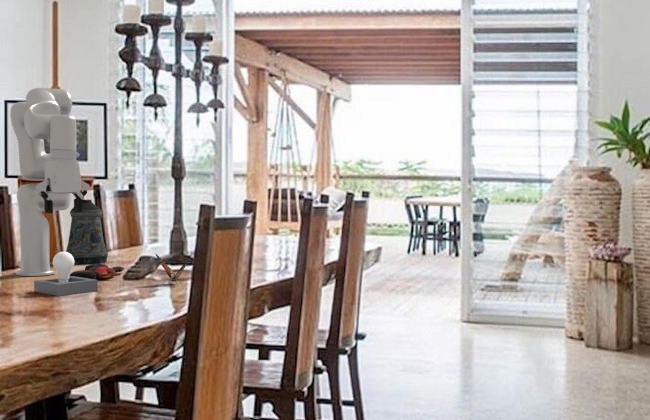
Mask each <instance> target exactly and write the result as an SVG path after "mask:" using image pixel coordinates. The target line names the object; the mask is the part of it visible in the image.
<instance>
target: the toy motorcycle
mask: <svg viewBox="0 0 650 420" xmlns="http://www.w3.org/2000/svg"><path fill="white" fill-rule="evenodd" d="M124 270H125V267H123V266H118V265H117V266H113V267H109V266H108V265H106V264H105V263H101V264H87V265H86V266H85V267H84V270H75V271H72V272H70V275H69V277H71V276H75V277H81V278H88V279H95V280H96V279H97V280H98V279H100V280H101V279H105V280H106V279H111V278H113V277H118V276H122V274H121V272H123V271H124ZM118 273H119V274H118Z"/></svg>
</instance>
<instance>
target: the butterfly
mask: <svg viewBox="0 0 650 420" xmlns="http://www.w3.org/2000/svg"><path fill="white" fill-rule="evenodd" d="M192 255H193V254H191V255H190V256H189V257H188V258H187V259H186V261H185V262H184V263H183V264H182V266H181V267H180V268H179V269H178V271H177V272H176V274H175V272H174V270H172V268H171V267H170V266H169V265H168V264H167V263H166V262H165V261H163V259H162V257H160V256H159V254H157V253H155V257H156V258H157V260H158V261H159V263H160V265H161V266H162V268H163V269H164V271H165V272H166V273H167V276H168V277H169V278H168V280H167V283H166V284H165V286H167V285H168V284H169V283H171V282H175V284H176V285H178V283H179V284H181V282H180V281H179V277H180V276H181V274H182V273H183V271H184V270H185V268H186V267H187V263H188V261H189V260H190V258H191V257H192ZM177 282H178V283H177Z"/></svg>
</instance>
